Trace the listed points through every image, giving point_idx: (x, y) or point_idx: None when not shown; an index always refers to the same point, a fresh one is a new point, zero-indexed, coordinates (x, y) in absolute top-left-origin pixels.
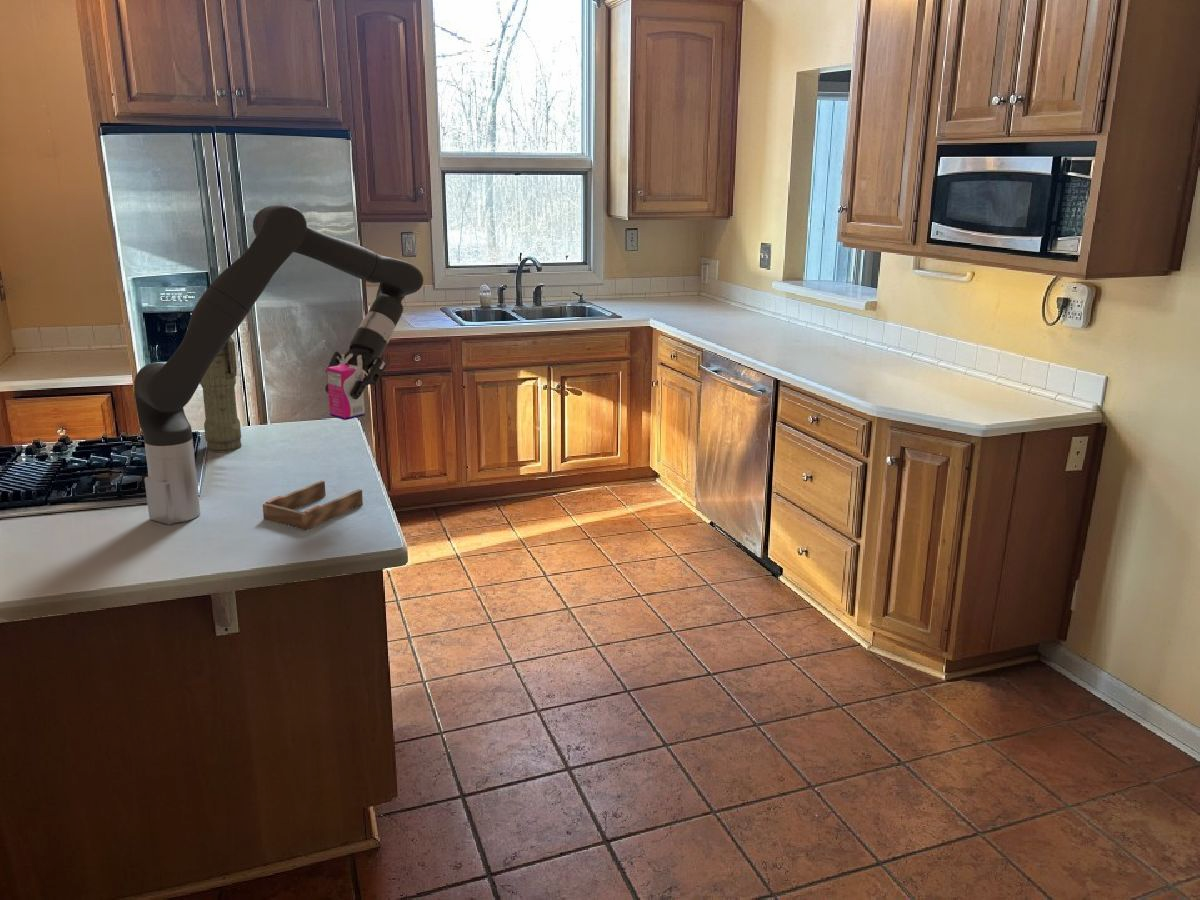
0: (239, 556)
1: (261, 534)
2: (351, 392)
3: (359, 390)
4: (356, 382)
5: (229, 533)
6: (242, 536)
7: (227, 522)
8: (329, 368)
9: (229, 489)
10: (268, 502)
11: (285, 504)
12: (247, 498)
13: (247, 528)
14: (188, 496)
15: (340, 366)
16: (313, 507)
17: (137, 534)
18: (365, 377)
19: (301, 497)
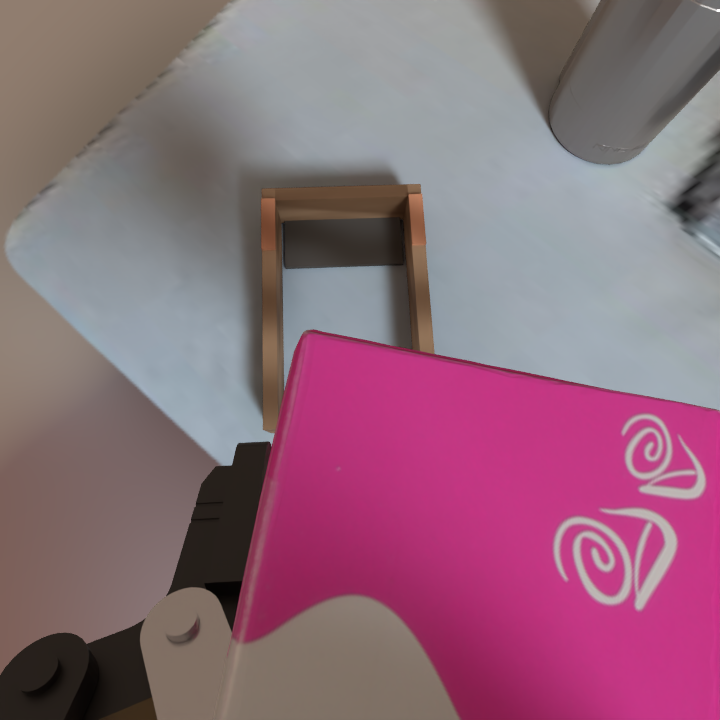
0: (286, 45)
1: (342, 144)
2: (258, 452)
3: (196, 517)
4: (243, 561)
5: (408, 112)
6: (369, 115)
7: (469, 152)
8: (638, 395)
9: (675, 307)
10: (411, 194)
11: (409, 261)
12: (574, 286)
13: (399, 151)
14: (577, 67)
15: (586, 602)
16: (274, 229)
17: (565, 16)
18: (137, 695)
19: (414, 322)
